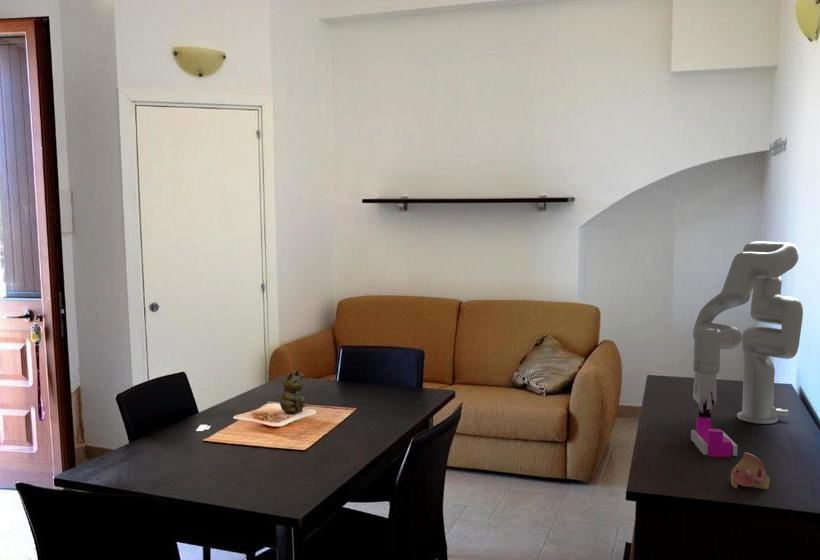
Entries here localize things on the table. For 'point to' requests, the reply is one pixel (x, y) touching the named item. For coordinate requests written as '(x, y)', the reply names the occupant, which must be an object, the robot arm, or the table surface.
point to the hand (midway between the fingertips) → (704, 424)
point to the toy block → (713, 438)
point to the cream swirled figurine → (749, 473)
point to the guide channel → (704, 446)
